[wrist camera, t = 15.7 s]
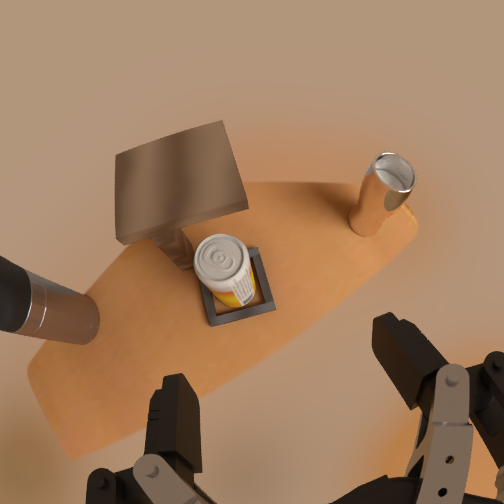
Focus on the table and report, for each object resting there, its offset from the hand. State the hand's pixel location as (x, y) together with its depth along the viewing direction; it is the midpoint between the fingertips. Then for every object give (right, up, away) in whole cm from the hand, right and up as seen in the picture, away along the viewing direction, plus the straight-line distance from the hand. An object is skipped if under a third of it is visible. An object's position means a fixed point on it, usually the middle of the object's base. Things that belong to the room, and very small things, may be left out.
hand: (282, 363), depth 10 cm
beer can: (-4, -1, +33) cm, 33 cm away
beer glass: (+18, +10, +35) cm, 41 cm away
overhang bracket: (-6, +1, +34) cm, 34 cm away
